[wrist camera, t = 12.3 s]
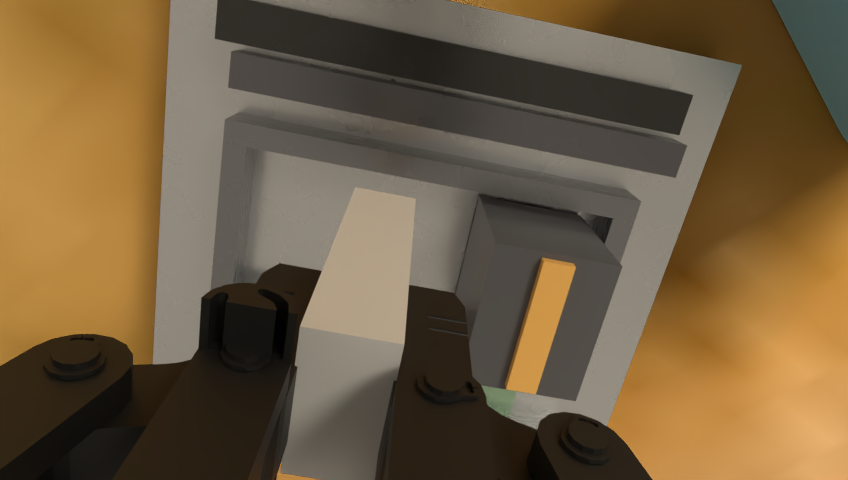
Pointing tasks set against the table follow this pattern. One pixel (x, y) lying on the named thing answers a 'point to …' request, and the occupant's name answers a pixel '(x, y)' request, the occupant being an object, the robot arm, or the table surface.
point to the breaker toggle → (534, 297)
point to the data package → (822, 49)
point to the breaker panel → (422, 149)
